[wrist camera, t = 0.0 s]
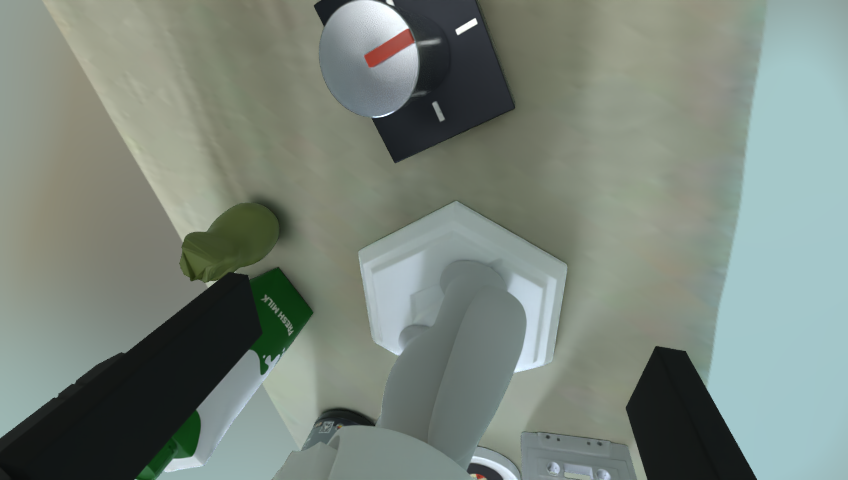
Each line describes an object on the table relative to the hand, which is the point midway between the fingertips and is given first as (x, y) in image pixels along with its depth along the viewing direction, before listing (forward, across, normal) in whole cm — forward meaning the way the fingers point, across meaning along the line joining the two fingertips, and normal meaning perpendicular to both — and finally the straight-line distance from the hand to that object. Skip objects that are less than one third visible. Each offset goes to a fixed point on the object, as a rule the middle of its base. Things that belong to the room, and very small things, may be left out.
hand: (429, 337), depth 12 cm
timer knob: (+18, -5, +8) cm, 20 cm away
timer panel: (+20, -5, +8) cm, 22 cm away
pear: (+21, -22, -8) cm, 31 cm away
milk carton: (+21, -23, -19) cm, 36 cm away
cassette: (+21, +15, -33) cm, 41 cm away
